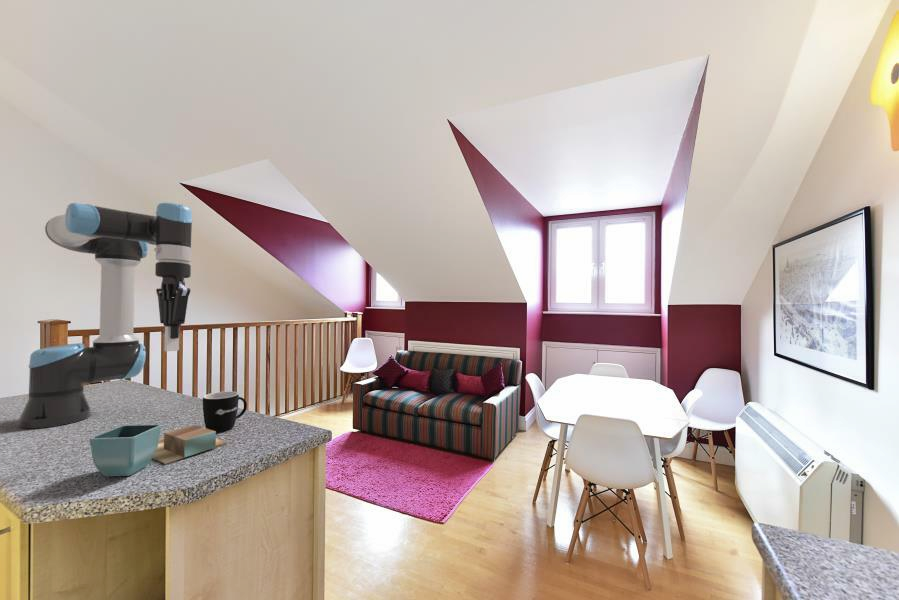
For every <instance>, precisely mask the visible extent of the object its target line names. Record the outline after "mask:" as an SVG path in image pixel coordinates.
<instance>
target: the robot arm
mask: <svg viewBox="0 0 899 600" xmlns="http://www.w3.org/2000/svg"><path fill="white" fill-rule="evenodd" d="M192 215H193V214H192V210H191V208H190V207H188V206H187V205H183V204H180V203H179V204H178V203H172V202H161V203H158V204H157V206H156V212H155V215H150V214H144V213H139V212H138V213H137V212H132V211H126V210H119V209H115V208H114V209H113V208H109V207H103V206H102V207H101V206H96V205H92V204H89V203H88V204H86V203H77V202H71V203H69V204H68V205H67V206H66V210H65V214H60V215H56V216H54V217H52V218H50V219H49V220H48V221H47V222H46V224H45V227H44V230H45V231H44V232H45V235H46V236H47V238H48V240H50V241H51V242H52V243H54V244H55V245H57V246H59V247H61V248H63V249H66V250H69V251H73V252H77V253H83V254H90V255H91V254H93V255H94V260H95V261H96V262H97V263H98V264H99V265H100V299H99V302H100V305H99V335H98V337H97V338H95V339H94V340H93V341H92V347H91V346H90V347H88V346H87V347H86V344H85V343H82V342H81V343H68V344H60V345H55V346H49V347H48V346H47V347H43V348H40V349H36V350H34V351H33V352H32V353H30V355H29V363H28V368H29V373H28V374H29V379H28V400H27V402H26V404H25V406H24V408H23V411H22V413H21V414H20V417H19V418H18V419H19V420H18V427H19V428H22V429H41V428H49V427H57V426H64V425H69V424H73V423H76V422H80V421H83V420H86V419H87V418H90V417H91V413H92V412H91V411H92V409H91V407H90V404H89V402H88V399H87V397H86V395H85V393H84V385H85V384H90V383H98V382H99V383H100V382H107V381H117V380H120V381H121V380H124V379H129V378H134V377H136V376H138V375H139V374H140V373H141V372H142V371H143V368H144V365H145V362H146V356H147V354H146V353H147V352H146V347H145V344H142V343H139V342H140V339H139V338H138V337H136V336H135V335H134V319H135V317H134V314H135V275H136V273H135V272H136V270H135V268H136V266H138V265H139V264H140V263H141V260H142V259H145V258H146V257H147V255H148V250H149V245H153V246H155V248H154V249H153V251H154V252H155V260H156V261H157V262H156V263H155V269H154V270H155V272H154V273H155V276H156V277H159V278H162V279H161V280H162V281H161V285H160V288H156V295H157V299H158V312H159V321H160V324H163V327H164V352H176V351H180V327H181V326H182V325H184V324H185V322H186V315H187V309H188V301H189V296H190V294H191V288H189V287H188V288H187V287H186V281H185V279H189V278H191V274H192V273H191V271H192V270H191V269H192V266H191V264H190V263H191V262H192V226H193V225H192V223H193V217H192Z"/></svg>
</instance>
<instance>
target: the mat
mask: <svg viewBox="0 0 899 600" xmlns="http://www.w3.org/2000/svg"><path fill="white" fill-rule="evenodd" d="M225 445H228V442H227V441H225V440H221V439H220V438H219V439H218V438H216V447H215V448H212V449H216V448H219V447H222V446H225ZM212 449H209V450H206V451H210V450H212ZM206 451H202V452H199V453H196V454H193V455H190V456H187V457H183V456H180V455H178V454H175V453H173V452H170V451H168V450H165V449H164V436H163V437H159V442H158V447H157V449H156V452H155V454H154V456H153V457H152V459H153V460H155V461H157V462H159V463H162V464H163V465H166V464H170V463H173V462H176V461H178V460H182V459H186V458H188V457H191V456H195V455H197V454H200V453H203V452H206ZM152 459H151V460H152Z"/></svg>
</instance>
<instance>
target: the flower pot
mask: <svg viewBox="0 0 899 600" xmlns="http://www.w3.org/2000/svg"><path fill="white" fill-rule="evenodd" d="M161 431H162V424H125V425H120V426H117V427H115V428H113V429H110V430H107V431H104V432H102V433H99V434H97V435H93V436H91V437H90V438H89V443H90V451H91V455H92V456H91V457H92V462H93V464H94V466H95V467H96V469H97V470H98V471H99V473H100V474H102V475H103V476H104V477H128V476H132V475H134V474H135V473H137V472H139V471H141V470H142V469H144V468H146V467H147V466H148V465H149V463H150V462H151V461H152V457H153V456H154V454H155V452H156V449H157V447H158V442H159V439H160V438H161V437H160V436H161Z"/></svg>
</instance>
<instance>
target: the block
mask: <svg viewBox="0 0 899 600" xmlns="http://www.w3.org/2000/svg"><path fill="white" fill-rule="evenodd" d="M163 437H164V449H165V450H168V451H170V452H173V453H175V454H178V455H180V456H183V457H185V458H188V457H191V456H194V455H193V454H195V455H197V454H196V453H198V454H200V453H199V452H201V453H203V452H202V451H204V452H206V450H207V451H210V450H212V448H213V449H216V448H217V447H216V439H217V433H216V431H213V430H210V429H206V427H203V426H199V425H196V424H192V425H189V426H185V427H182V428H178V429H173V430H171V431H170V430H169V431H165V432H163ZM215 447H216V448H215ZM209 449H210V450H209ZM190 455H191V456H190ZM187 456H188V457H187Z"/></svg>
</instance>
